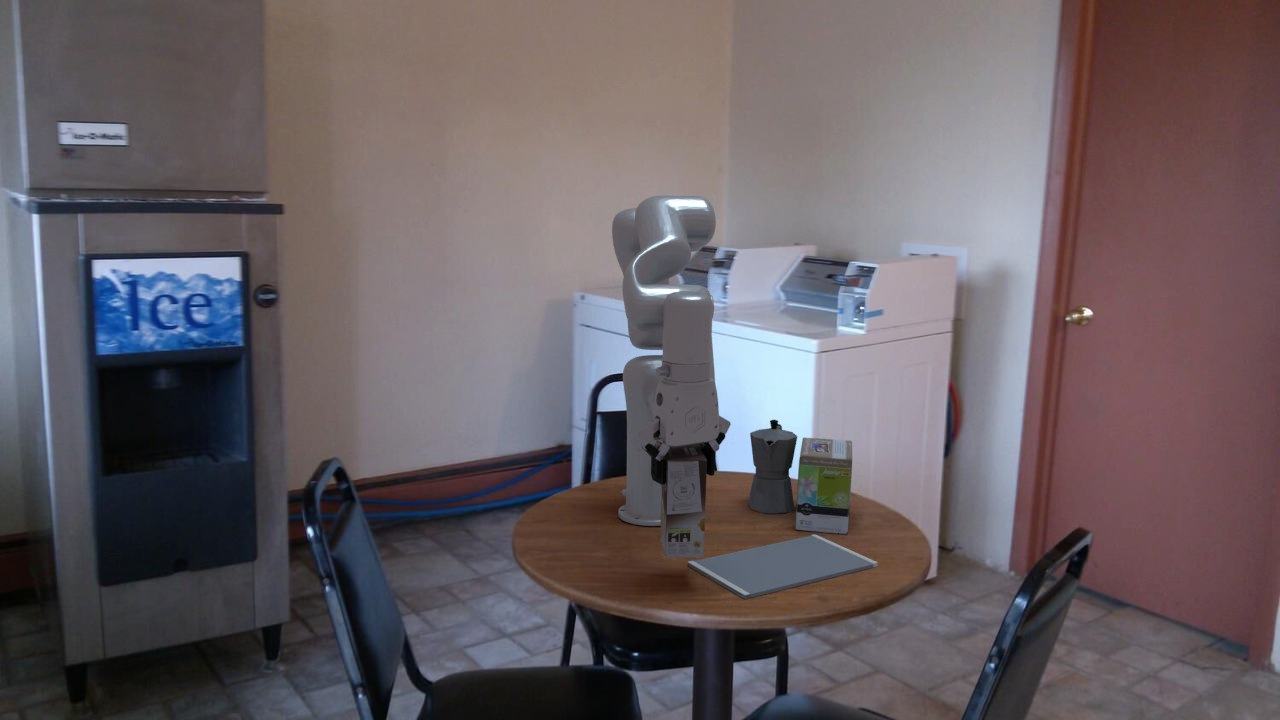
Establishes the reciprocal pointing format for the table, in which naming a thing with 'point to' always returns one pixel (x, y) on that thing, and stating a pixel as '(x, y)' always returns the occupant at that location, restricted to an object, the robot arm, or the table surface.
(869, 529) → the table surface
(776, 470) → the coffeepot
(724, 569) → the mat
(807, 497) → the tea box
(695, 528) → the coffee box
